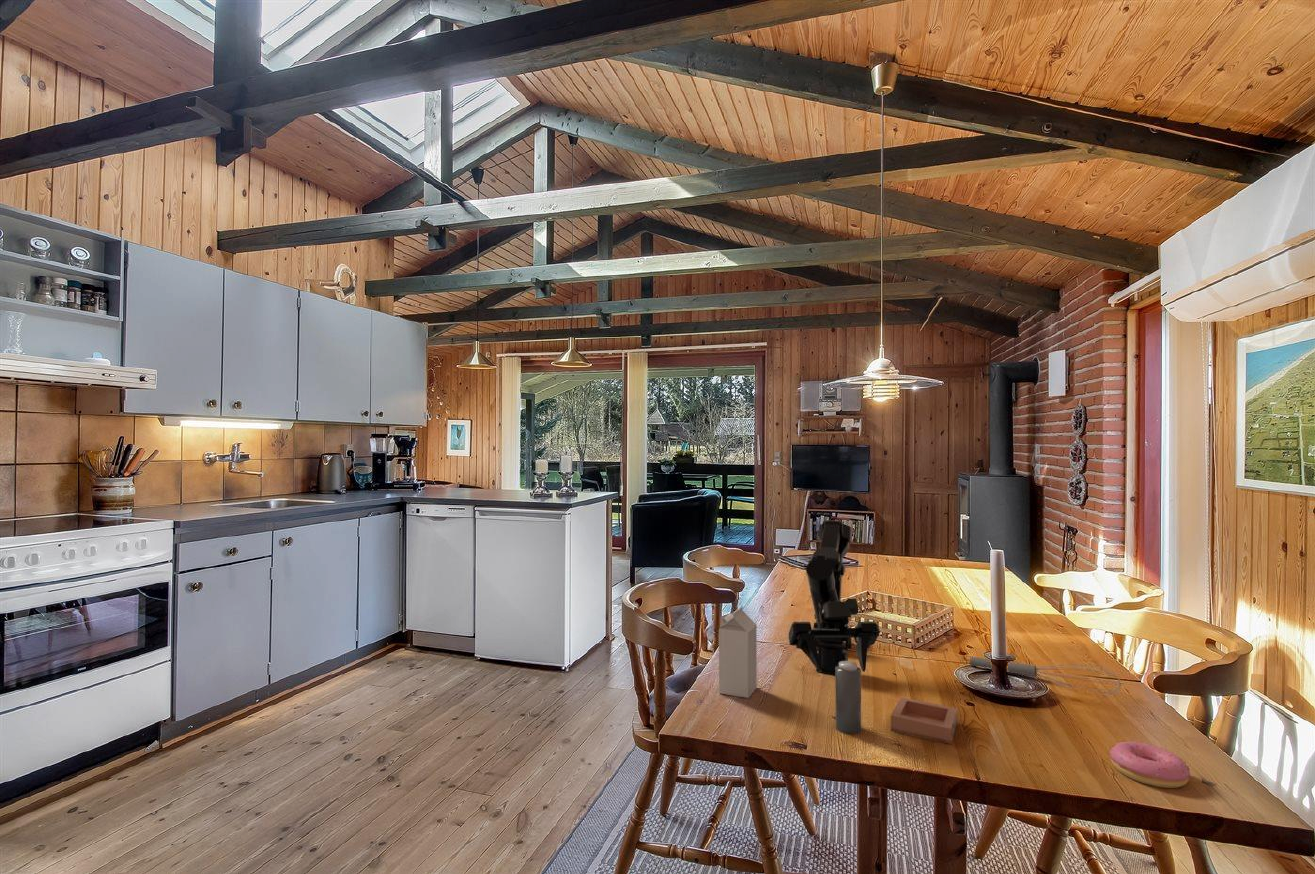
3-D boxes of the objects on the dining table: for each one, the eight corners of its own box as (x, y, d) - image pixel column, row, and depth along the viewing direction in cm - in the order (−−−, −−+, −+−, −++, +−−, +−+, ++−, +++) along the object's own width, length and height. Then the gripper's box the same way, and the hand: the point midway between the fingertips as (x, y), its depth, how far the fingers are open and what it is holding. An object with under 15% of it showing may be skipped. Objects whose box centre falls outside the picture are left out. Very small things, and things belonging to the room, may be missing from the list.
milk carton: (756, 688, 144) (756, 607, 145) (748, 699, 138) (748, 614, 138) (728, 683, 147) (728, 604, 148) (718, 693, 141) (718, 611, 141)
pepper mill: (832, 730, 122) (832, 665, 123) (839, 720, 127) (838, 657, 127) (858, 736, 120) (857, 669, 120) (864, 726, 124) (863, 662, 124)
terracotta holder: (890, 730, 122) (890, 715, 122) (900, 710, 132) (900, 696, 132) (951, 744, 116) (951, 728, 116) (957, 722, 126) (957, 708, 126)
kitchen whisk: (965, 661, 163) (964, 638, 163) (1122, 695, 141) (1122, 668, 141) (958, 667, 159) (958, 643, 159) (1120, 704, 136) (1120, 675, 137)
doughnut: (1130, 788, 102) (1130, 763, 102) (1097, 756, 112) (1097, 733, 112) (1206, 796, 99) (1206, 770, 99) (1165, 762, 110) (1164, 739, 110)
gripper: (791, 584, 132) (804, 652, 121) (876, 584, 133) (897, 651, 121) (783, 611, 140) (795, 677, 129) (863, 611, 140) (882, 677, 129)
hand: (842, 670), depth 127 cm, fingers open, 9 cm apart
